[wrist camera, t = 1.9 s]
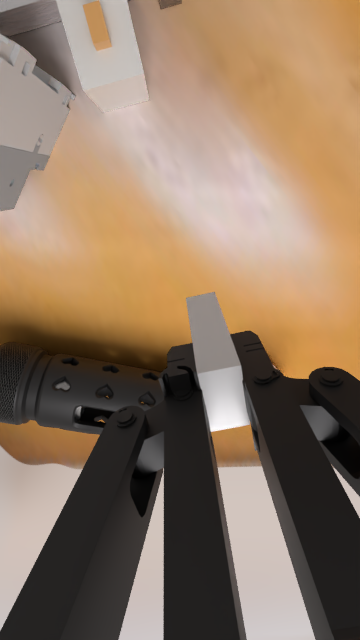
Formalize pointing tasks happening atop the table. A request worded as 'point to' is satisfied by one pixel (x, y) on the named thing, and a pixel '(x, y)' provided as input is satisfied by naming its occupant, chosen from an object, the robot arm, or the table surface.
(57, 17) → the din rail
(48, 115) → the circuit breaker
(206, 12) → the table surface
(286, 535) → the robot arm
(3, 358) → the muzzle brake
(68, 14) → the mounted module
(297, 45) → the table surface
